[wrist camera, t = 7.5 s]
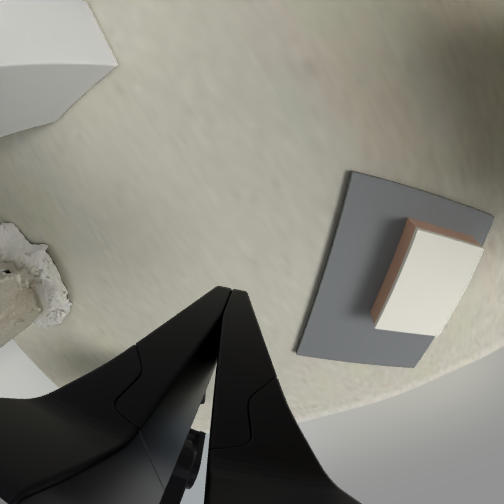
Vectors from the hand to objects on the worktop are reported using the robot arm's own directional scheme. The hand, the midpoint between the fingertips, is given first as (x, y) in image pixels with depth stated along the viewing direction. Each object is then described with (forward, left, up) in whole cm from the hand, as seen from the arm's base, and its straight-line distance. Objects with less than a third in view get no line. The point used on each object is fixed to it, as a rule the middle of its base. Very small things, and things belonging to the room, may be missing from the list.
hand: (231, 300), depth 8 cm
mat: (-6, -11, -12) cm, 17 cm away
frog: (-13, +24, -12) cm, 30 cm away
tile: (-4, -10, -11) cm, 15 cm away
